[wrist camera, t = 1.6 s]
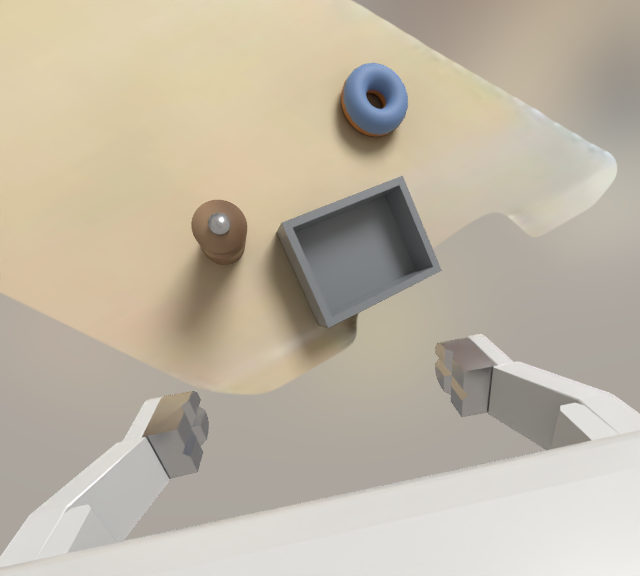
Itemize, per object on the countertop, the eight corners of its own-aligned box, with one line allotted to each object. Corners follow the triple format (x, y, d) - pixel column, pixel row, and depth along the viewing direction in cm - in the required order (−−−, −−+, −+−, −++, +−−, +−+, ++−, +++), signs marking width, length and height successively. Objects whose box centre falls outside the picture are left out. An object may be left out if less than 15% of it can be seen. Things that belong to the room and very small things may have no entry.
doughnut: (382, 154, 46) (397, 135, 42) (325, 115, 44) (335, 91, 40) (407, 108, 48) (423, 85, 44) (354, 70, 47) (366, 42, 43)
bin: (318, 324, 42) (328, 327, 38) (276, 232, 41) (281, 222, 37) (420, 273, 47) (441, 270, 42) (385, 188, 46) (402, 175, 41)
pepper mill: (213, 270, 39) (204, 258, 28) (196, 233, 39) (179, 206, 28) (251, 255, 40) (256, 238, 30) (234, 218, 40) (233, 188, 29)
